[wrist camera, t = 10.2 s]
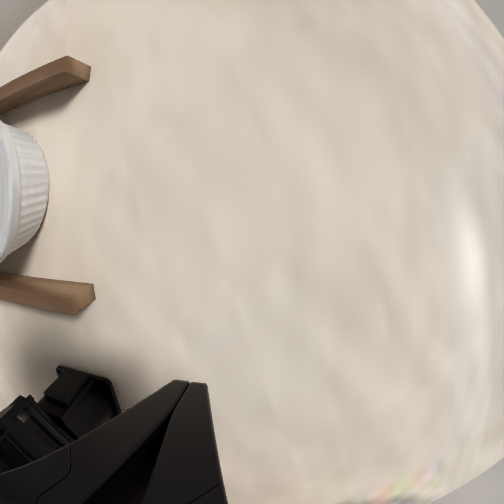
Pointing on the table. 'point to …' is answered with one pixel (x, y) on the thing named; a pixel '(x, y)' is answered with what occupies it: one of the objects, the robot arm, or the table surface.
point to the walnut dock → (32, 288)
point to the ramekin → (20, 188)
